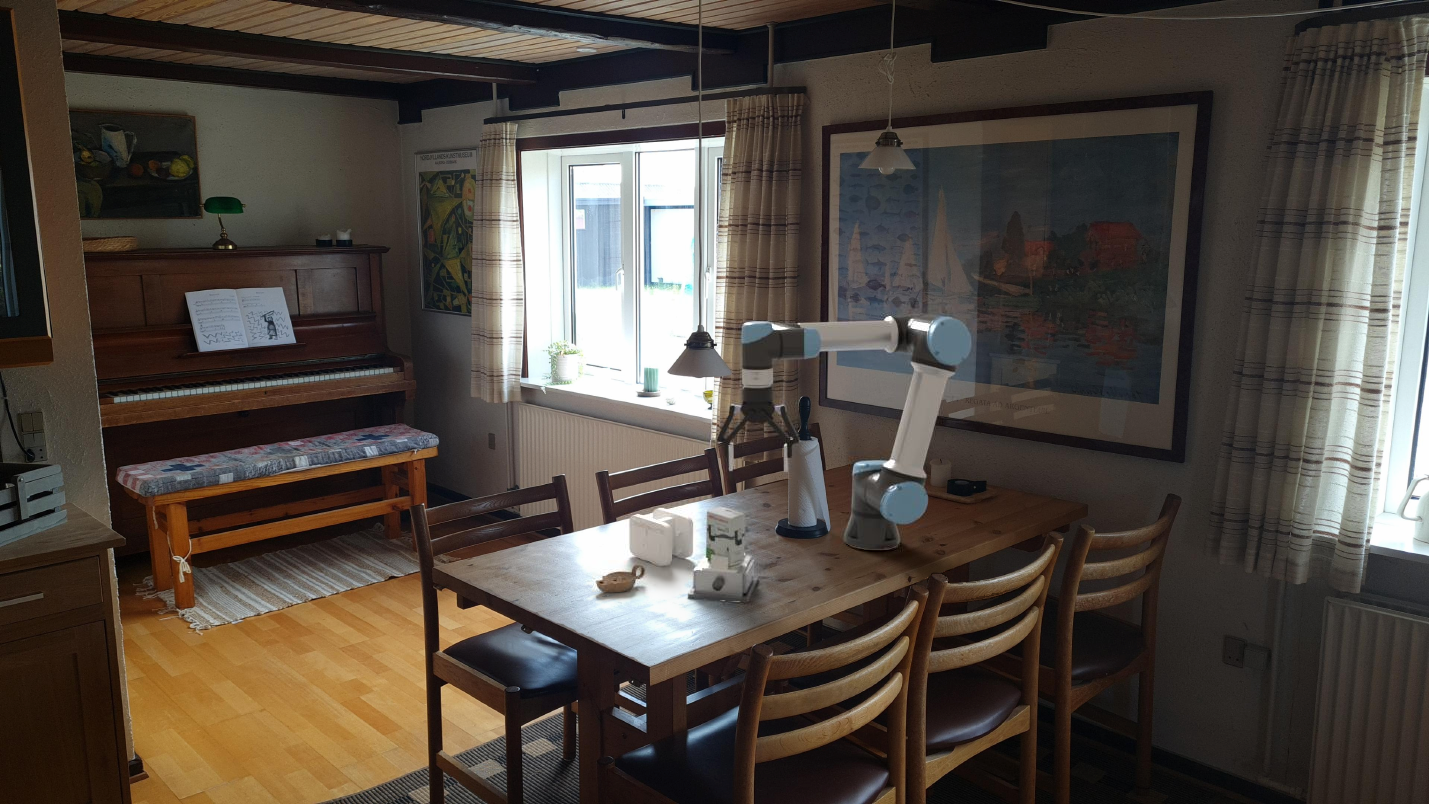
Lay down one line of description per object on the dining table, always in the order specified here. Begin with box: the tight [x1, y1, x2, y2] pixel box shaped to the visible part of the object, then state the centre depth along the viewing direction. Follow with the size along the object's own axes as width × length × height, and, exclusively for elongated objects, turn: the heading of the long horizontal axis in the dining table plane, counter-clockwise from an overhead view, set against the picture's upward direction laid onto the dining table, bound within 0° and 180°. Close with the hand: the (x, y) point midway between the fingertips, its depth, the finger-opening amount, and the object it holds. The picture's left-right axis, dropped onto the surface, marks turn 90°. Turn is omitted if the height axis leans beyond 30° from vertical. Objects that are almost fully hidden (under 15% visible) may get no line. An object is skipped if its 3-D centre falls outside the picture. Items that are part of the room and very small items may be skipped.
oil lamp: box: [595, 563, 646, 593], centre depth 233 cm, size 13×8×5 cm, turn 124°
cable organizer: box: [628, 507, 694, 567], centre depth 254 cm, size 15×11×12 cm
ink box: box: [705, 506, 746, 566], centre depth 232 cm, size 9×5×12 cm, turn 44°
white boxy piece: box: [687, 552, 759, 603], centre depth 233 cm, size 14×16×10 cm
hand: (758, 470), depth 243 cm, fingers open, 13 cm apart
